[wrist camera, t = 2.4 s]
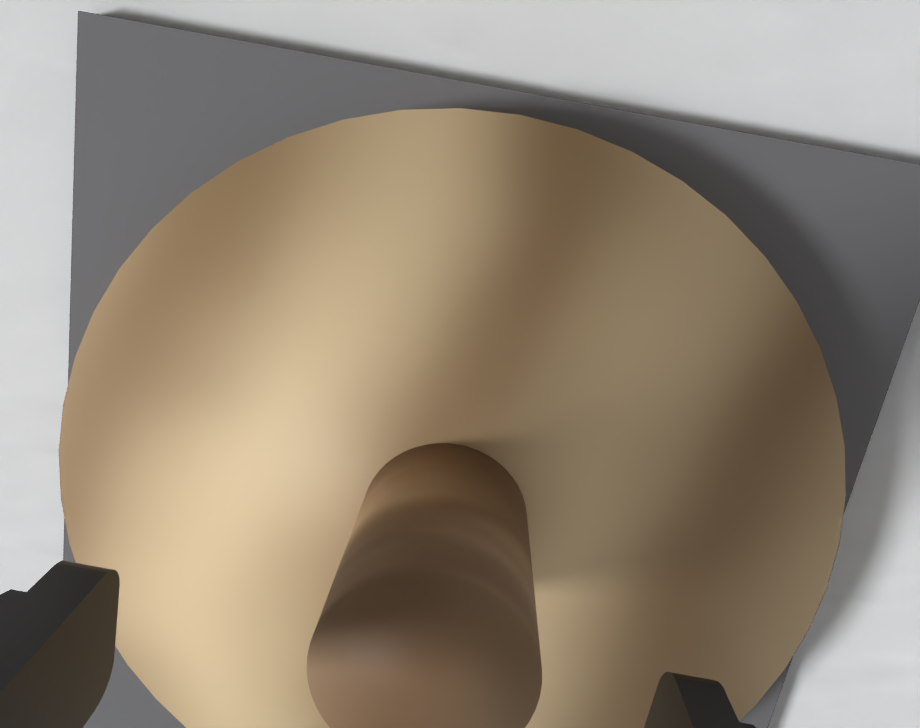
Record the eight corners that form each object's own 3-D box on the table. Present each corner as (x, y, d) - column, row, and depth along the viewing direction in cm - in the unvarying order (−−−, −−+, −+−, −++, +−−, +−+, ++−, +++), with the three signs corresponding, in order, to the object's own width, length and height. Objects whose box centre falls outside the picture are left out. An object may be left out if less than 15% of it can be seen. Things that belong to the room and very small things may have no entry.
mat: (950, 172, 15) (964, 172, 15) (716, 839, 20) (721, 856, 20) (91, 15, 15) (78, 10, 15) (68, 724, 20) (58, 739, 20)
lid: (930, 193, 15) (1222, 216, 9) (708, 838, 20) (803, 1137, 14) (101, 42, 15) (-164, -36, 9) (77, 727, 19) (-107, 980, 13)
